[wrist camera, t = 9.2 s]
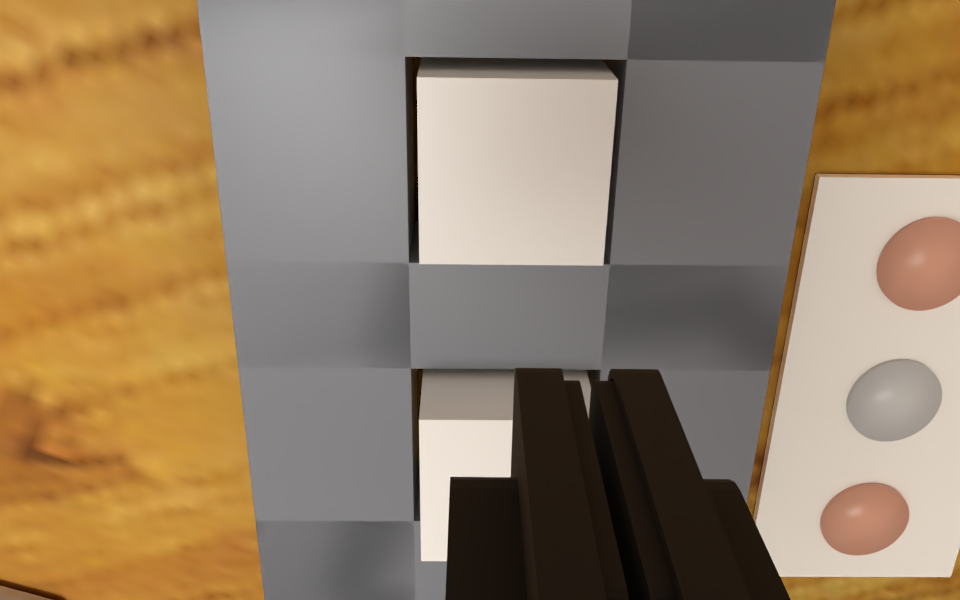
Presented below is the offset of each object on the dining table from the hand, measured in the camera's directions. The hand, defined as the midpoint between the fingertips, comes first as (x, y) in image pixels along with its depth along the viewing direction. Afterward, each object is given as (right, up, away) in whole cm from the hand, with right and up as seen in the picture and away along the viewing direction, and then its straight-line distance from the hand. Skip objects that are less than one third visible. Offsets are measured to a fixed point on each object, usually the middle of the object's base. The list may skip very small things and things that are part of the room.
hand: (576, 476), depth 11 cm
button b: (-1, -1, +15) cm, 15 cm away
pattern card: (+11, -1, +17) cm, 20 cm away
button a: (0, +6, +13) cm, 14 cm away
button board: (-1, -1, +16) cm, 17 cm away
